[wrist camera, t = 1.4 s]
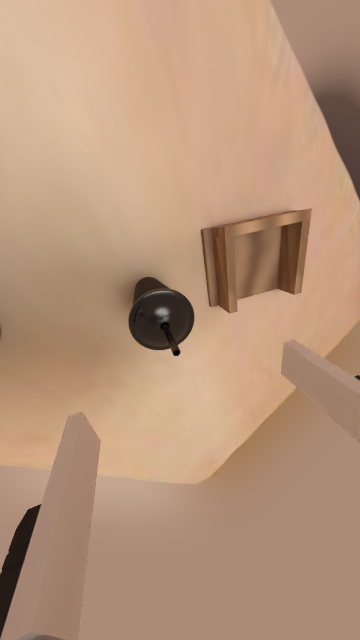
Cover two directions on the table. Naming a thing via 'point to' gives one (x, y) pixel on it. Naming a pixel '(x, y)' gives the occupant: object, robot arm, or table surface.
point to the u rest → (255, 257)
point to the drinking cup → (160, 316)
